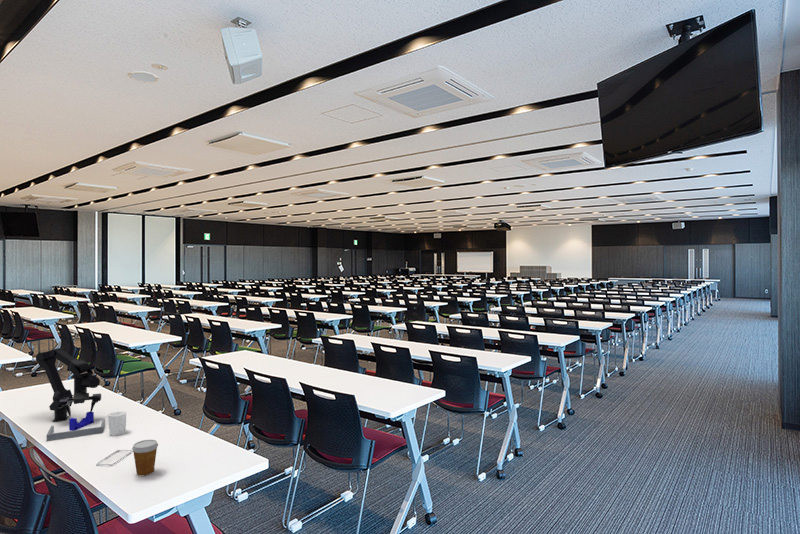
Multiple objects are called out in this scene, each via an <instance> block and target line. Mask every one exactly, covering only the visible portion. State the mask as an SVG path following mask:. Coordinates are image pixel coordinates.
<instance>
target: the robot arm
mask: <svg viewBox="0 0 800 534" xmlns="http://www.w3.org/2000/svg"><path fill="white" fill-rule="evenodd" d="M35 360H36V363H37V364H38V366H40V367H41V368H43V369H44V371H45V373H46V376H47V379H48V381H49V383H50V386H51V388H52V391H53V395H52V403H50V405H49V407H48V408H49V411H53V413H54V416H53V417H54V418H53V420H52V423H54V422H55V423H56V422H62V421H68V420H69V417H70V418H72V417H71V416H72V411H71V407H72V405H73V404H74V405H77V404H84V403H85V402H86V401H91V404H90V411H89V412H93V409H94V407H95V405H96V404H97V403H99V402H100V401H101V400H102V393H94V394H91V395H90V393H89V392H88V388H91V389H95V388H98V386H99V385H100V382H101V380H100V378H99V377H98V376H97V374H94V371H93V370H92V368H91V366H90V365H89V363H88V362H87V361H84V360H80V359H77V358H75V357H74V356H72V355H71V354H69V353H68V352H66V351H64V349H63V348H62V347H61V348H59V347H58V348H53V349H51V350H48V351H47V350H46V351H41V352H38V353H37V354H36V356H35ZM57 360H58V361H59V362H61V363H63V364H64V365H66V366H67V367H68V371H69V372H71V374H72V375H71V377H70V378H71V379H73V393H72V391H71V389H67V388H65V385H64V384H63V381H62V379H61V376H60V373H59V371H58V369H57V367H56V363H57Z"/></svg>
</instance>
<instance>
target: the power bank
mask: <svg viewBox="0 0 800 534" xmlns="http://www.w3.org/2000/svg"><path fill="white" fill-rule="evenodd" d="M119 451H120V452H123V451H124V452H127V453H125V455H123V456H122V457H120V458H119V459H117V460H115V461H114V462H112V463H101V462H103V461H105V459H106V460H108V459H109V458H110V457H112V456H113V454H114V453H115V454H117V453H120V452H119ZM116 452H117V453H116ZM131 452H132V453H134V452H133V450H132V449H116V450H115V451H113V452H111V453H110V454H109V455H107V456H105V457H104V458H102V459H101V460H100V461H97V462H96V463H95V467H100V466H99V465H113V464H115V463H116V462H118V461H119V460H121V459H122V458H124V457H125V456H126V457H128V456H129V455H131V454H132V453H131ZM130 453H131V454H130ZM115 454H114V455H115ZM111 455H112V456H111ZM127 455H128V456H127ZM108 457H109V458H108ZM126 457H125V458H126ZM125 458H124V459H125ZM122 460H123V459H122ZM122 460H121V461H122ZM119 462H120V461H119ZM119 462H118V463H119ZM116 464H117V463H116ZM116 464H115V465H116ZM113 466H114V465H113Z"/></svg>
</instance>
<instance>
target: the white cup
mask: <svg viewBox="0 0 800 534" xmlns="http://www.w3.org/2000/svg"><path fill="white" fill-rule="evenodd" d="M107 416H108V417H107V419H108V420H107V421H108V429H109V431H108V432H109V436H114V437H116V436H121V435H123V434H125V433H126V426H127V411H124V410H118V411H112V412H109V414H108V415H107Z"/></svg>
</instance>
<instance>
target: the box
mask: <svg viewBox="0 0 800 534" xmlns="http://www.w3.org/2000/svg"><path fill="white" fill-rule="evenodd" d="M105 420H106V419H105V418H102V420H101V424H100V426H96V427H90V428H80V429H77V430H74V431H71V430H68V431H62V432H55V430H54V429H55V425H51V426H50V427H49V430H48V432H47V433H46V442H49V441H58V440H65V439H70V438H79V437H85V436H91V435H98V434H99V435H100V434H103V433H104V430H105V425H106V421H105Z"/></svg>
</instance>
